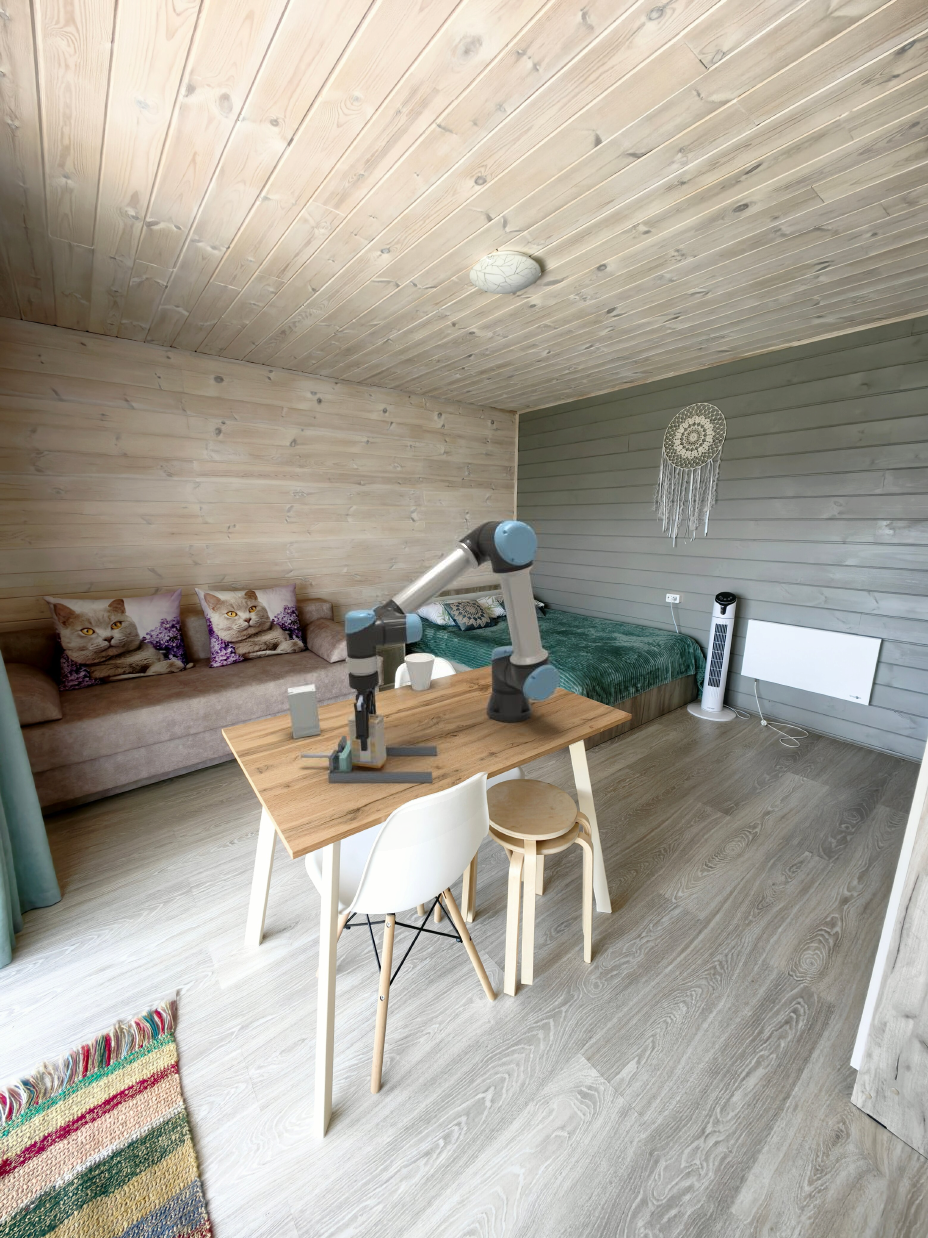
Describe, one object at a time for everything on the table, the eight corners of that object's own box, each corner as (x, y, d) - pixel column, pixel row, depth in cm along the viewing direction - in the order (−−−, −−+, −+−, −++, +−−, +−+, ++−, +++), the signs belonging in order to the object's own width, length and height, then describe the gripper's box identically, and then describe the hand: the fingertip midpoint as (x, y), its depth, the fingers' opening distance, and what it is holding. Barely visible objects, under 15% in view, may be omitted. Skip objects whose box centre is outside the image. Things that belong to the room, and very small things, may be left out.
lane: (437, 754, 134) (436, 734, 133) (432, 782, 120) (431, 760, 119) (345, 754, 135) (343, 734, 134) (329, 782, 121) (327, 760, 119)
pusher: (358, 755, 134) (357, 736, 133) (346, 778, 122) (345, 758, 121) (310, 755, 134) (308, 736, 133) (294, 778, 122) (292, 758, 121)
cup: (401, 692, 183) (400, 661, 181) (410, 682, 195) (409, 652, 192) (432, 693, 181) (431, 662, 179) (438, 683, 193) (437, 653, 190)
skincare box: (319, 727, 153) (315, 683, 150) (320, 735, 148) (317, 689, 145) (291, 731, 150) (287, 686, 147) (292, 739, 145) (287, 693, 142)
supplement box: (387, 760, 129) (384, 714, 126) (379, 769, 124) (376, 722, 121) (359, 756, 131) (356, 711, 128) (350, 765, 126) (347, 719, 124)
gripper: (357, 660, 131) (363, 738, 136) (338, 683, 113) (345, 773, 118) (384, 660, 131) (389, 738, 136) (369, 683, 113) (375, 773, 118)
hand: (368, 754), depth 127 cm, fingers closed on supplement box, 6 cm apart
